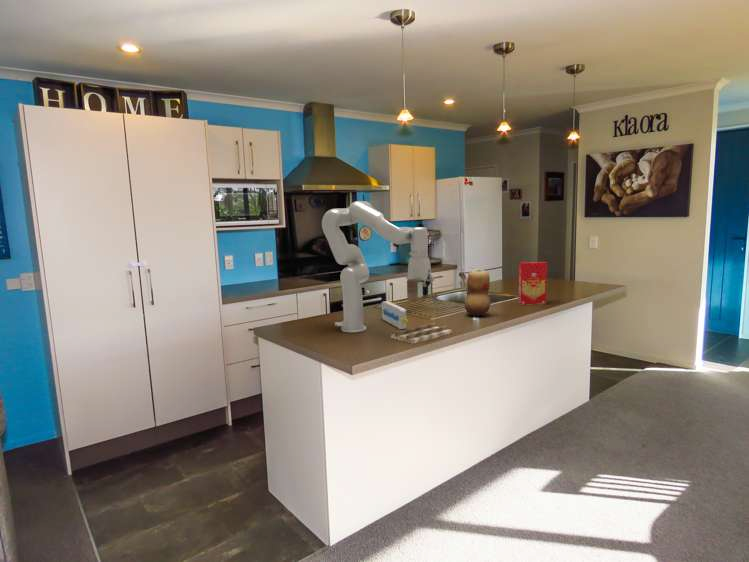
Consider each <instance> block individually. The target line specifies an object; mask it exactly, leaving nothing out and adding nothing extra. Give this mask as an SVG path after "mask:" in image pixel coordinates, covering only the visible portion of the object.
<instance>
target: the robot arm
mask: <svg viewBox="0 0 749 562" xmlns="http://www.w3.org/2000/svg"><path fill="white" fill-rule="evenodd" d="M384 217H385V216H384V214H383V213H382V212H380V211H378V210H377V209H376V208H374V207H373V205H372V204H371V203H370V202H368V201H365V200H356V201H353V202H352V203H351V204H349V206H348V207H346V208H345V207H343V208H331V209H329V210H327V211H326V212H325V213H324V214H323V217H322V220H321V227H322V228H321V229H322V231H323V235H324V236H325V238H326V239H327V242H328V245H329V248H330V250H331V252H332V255H333V257H334V259H335V262H336V263H337V264H339V265H341V266H343V265H344V266H346V265H347V266H346V267H345V268H343V269H342V270H341V272H340V275H339V277H340V283H341V284H340V285H341V289H342V304H343V305H342V306H343V307H342V308H343V320H341V321H335V322H334V326H335V327H341V328H340V330H341V332H344V333H351V334H352V333H354V334H355V333H363V332H365V331H367V326H366V325H364V306H363V305H364V302H363V289H362V287H361V284H363V283H365V282H366V281H368V279H369V277H370V270H369V266H368V265H367V262H366V259H365V257H364V254H363V253H362V251H361V249H360V247H358V246H357V245H355V244H352V243H350V244H349V242H348V241H347V239H346V236H345V233H344V232H343V231H342V229H340V227H344V226H350V225H351V226H352V225H354V224H357V223H361V224H362V225H364V226H367V227H368V228H369V229H372V230H373V231H374V232H375V233H376V234H377V235H378V236H380V238H381V237H382V238H383V239H384V240H386V241H388V242H390V243H392V244H394V245H403V244H409V243H410V251H409V252H408V255H409V256H410V257H409V258H408V259H409V260H408V265H407V275H406V277H405V279H406V281H407V280H412V279H415V280H421V281H423V285H424V287H423V296H425V295H428V286H429V285H430V284H431V282H432V283H433V282H434V281H435V277H434V276H433V275H432V267H431V260H430V257H429V253H428V252H429V247H428V246H429V244H428V242H429V241H428V237H429V236H428V234H429V233H428V228H427V227H425V226H424V227H423V226H417V227H416V226H415V227H414V226H413V227H411V226H399V227H398V226H396V225H394V224H393V223H391V222H389V221H388V220H386V218H384ZM428 279H430V280H429V281H428Z"/></svg>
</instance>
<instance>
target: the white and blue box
mask: <svg viewBox="0 0 749 562" xmlns="http://www.w3.org/2000/svg"><path fill="white" fill-rule="evenodd" d="M381 316H382V320H383V321H385V322H386V323H389V324H390V325H392V326H394V327H395V326H396V328H397V327H398V328H397V329H399V330H407V323H409V320H408V319H407V310H406V308H404V307H401V306H399V305H397V304H395V303H393V302H391V301H389V300H387V301H384V300H383V301H381Z"/></svg>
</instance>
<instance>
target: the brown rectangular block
mask: <svg viewBox="0 0 749 562" xmlns="http://www.w3.org/2000/svg"><path fill="white" fill-rule="evenodd" d="M429 280H430V279H428V281H429ZM423 287H424V285H423V281H421V280H415V279H412V280H407V279H406V291H407V292H406V294H407V295H406V296H407V297H406V299H407V301H409V302H418V301H422V300H425V299H429V298H432V297H433V282H431V284H430V285H429V286H428V295H425V296H423Z"/></svg>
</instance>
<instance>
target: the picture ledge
mask: <svg viewBox="0 0 749 562" xmlns="http://www.w3.org/2000/svg"><path fill="white" fill-rule="evenodd" d="M437 325H438V324H437V323H435V322H434V323H429V324H424V325H421V326H416V327H413V328H408V329H402V330H399V331H394V334H390V339H393V338H394V339H393V340H396V339H398V340H397V341H400V340H401V341H400V342H403V341H405V342H404V343H407V342H408V344H410V343H411V345H413V343H414V344H416V343H417V342H418V343H421V342H425V341H428V340H433V339H436V338H439V337H442V336H443V337H444V336H447V334H448V335H451V334H450V333H452V334H454V333H453V332H454V331H453V329H449V325H444V326H437Z"/></svg>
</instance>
